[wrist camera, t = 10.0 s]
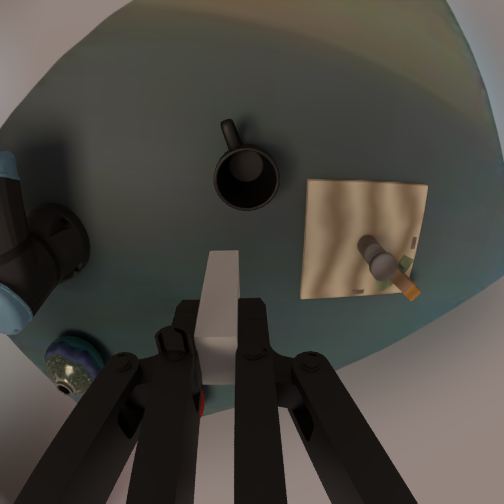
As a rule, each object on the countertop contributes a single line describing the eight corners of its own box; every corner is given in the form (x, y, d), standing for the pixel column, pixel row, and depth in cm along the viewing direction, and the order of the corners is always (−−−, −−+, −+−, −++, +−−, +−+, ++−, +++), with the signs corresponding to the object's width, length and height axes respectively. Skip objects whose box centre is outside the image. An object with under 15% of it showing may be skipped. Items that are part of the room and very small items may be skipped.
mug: (256, 109, 42) (260, 109, 33) (279, 182, 47) (287, 201, 39) (203, 125, 43) (194, 131, 34) (228, 197, 48) (225, 219, 40)
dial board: (299, 295, 57) (300, 299, 56) (307, 178, 47) (308, 180, 46) (403, 288, 57) (405, 292, 56) (424, 184, 47) (428, 186, 46)
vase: (61, 360, 66) (43, 397, 54) (52, 318, 59) (27, 356, 47) (113, 377, 68) (99, 418, 56) (109, 335, 61) (90, 380, 49)
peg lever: (350, 246, 51) (366, 271, 43) (367, 228, 49) (387, 250, 42) (397, 289, 56) (414, 315, 48) (412, 274, 54) (432, 298, 47)
